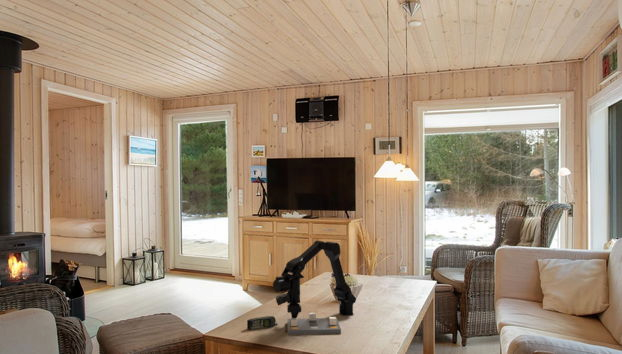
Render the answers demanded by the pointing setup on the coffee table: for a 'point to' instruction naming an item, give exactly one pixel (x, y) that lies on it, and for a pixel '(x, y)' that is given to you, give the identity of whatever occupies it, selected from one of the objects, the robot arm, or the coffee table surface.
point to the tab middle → (312, 316)
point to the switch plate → (313, 327)
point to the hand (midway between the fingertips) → (293, 321)
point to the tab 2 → (332, 320)
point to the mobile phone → (261, 322)
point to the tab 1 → (294, 322)
